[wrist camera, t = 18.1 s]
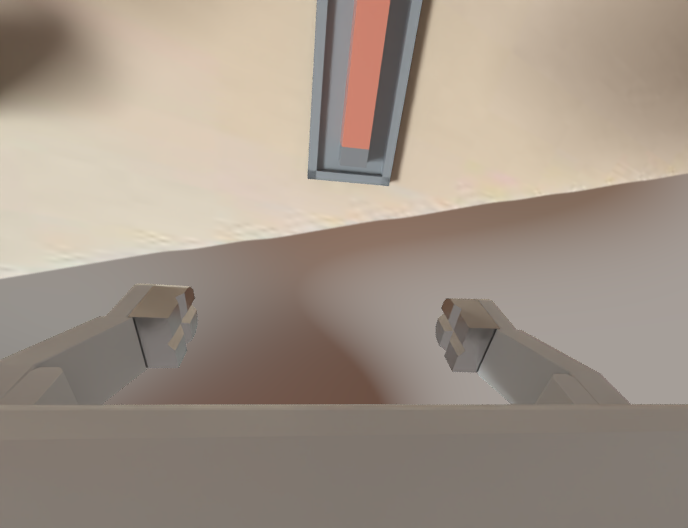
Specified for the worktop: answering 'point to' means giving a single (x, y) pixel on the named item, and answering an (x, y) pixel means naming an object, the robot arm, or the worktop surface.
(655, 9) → the worktop surface
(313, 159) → the tray
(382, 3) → the bar
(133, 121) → the worktop surface
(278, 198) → the worktop surface
